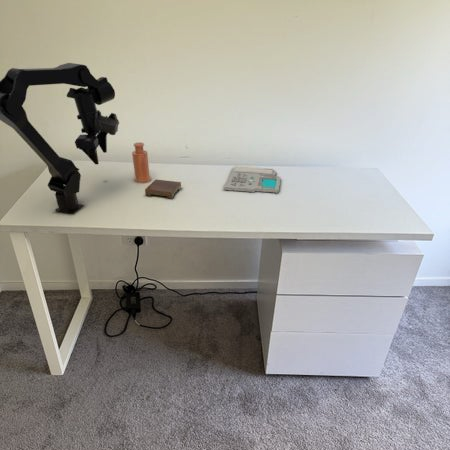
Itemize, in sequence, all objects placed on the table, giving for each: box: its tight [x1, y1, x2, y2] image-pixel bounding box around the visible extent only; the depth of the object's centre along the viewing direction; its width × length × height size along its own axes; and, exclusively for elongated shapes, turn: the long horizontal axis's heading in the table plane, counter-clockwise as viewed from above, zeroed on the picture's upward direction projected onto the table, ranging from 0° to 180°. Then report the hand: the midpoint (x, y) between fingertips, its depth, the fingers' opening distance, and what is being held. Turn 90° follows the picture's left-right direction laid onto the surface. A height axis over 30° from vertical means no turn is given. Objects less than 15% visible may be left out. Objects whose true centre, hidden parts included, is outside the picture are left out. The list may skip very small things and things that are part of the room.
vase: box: [131, 142, 151, 184], centre depth 145 cm, size 6×6×14 cm
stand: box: [144, 178, 182, 200], centre depth 139 cm, size 10×10×2 cm
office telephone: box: [224, 165, 281, 194], centre depth 149 cm, size 23×3×20 cm
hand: (101, 158), depth 131 cm, fingers open, 9 cm apart
